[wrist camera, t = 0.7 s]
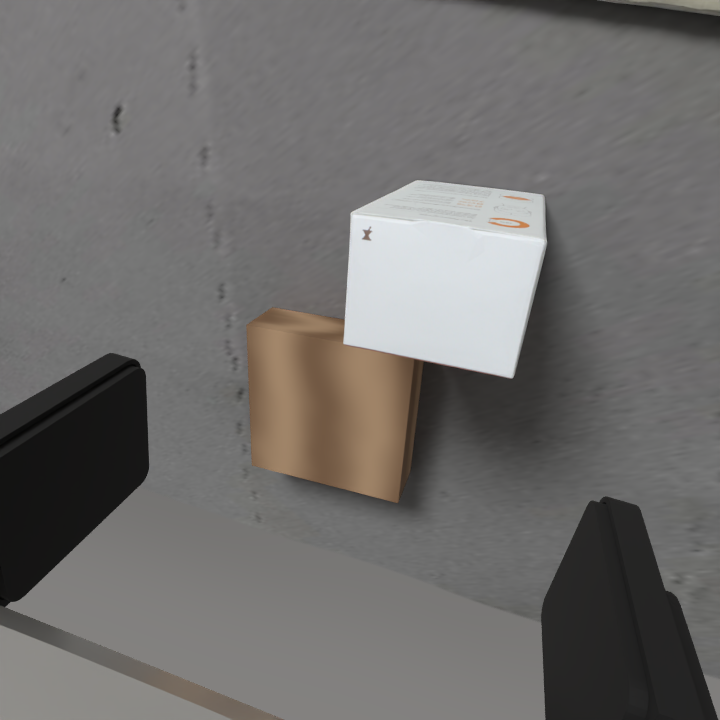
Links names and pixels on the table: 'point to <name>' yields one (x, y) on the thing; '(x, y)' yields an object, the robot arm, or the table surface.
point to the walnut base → (330, 405)
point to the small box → (445, 274)
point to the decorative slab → (678, 5)
